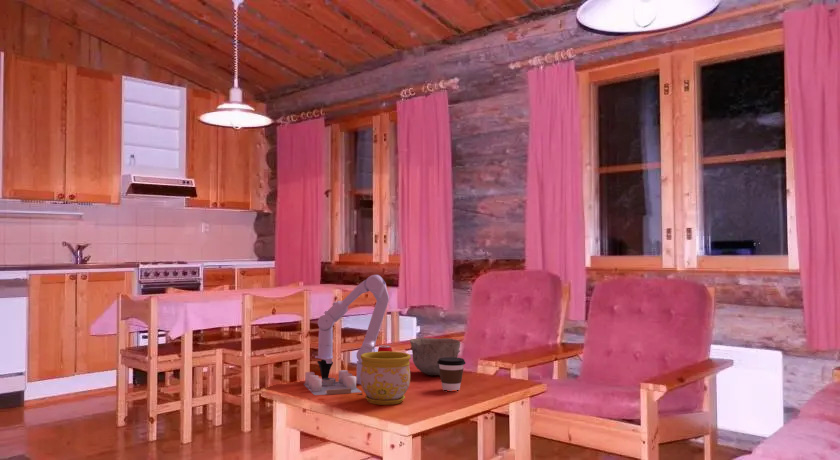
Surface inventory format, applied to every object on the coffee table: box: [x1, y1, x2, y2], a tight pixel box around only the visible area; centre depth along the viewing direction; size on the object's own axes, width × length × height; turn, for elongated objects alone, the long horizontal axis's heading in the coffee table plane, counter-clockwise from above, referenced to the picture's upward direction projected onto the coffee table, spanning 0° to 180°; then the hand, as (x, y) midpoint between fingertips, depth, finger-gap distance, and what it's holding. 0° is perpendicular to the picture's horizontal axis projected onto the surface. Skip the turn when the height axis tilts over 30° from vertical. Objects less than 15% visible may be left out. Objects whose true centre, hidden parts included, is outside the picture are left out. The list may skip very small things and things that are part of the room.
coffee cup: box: [437, 356, 466, 391], centre depth 257 cm, size 11×11×12 cm
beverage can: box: [377, 344, 393, 352], centre depth 291 cm, size 6×6×12 cm
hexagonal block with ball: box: [322, 377, 337, 387], centre depth 259 cm, size 5×5×3 cm
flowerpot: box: [360, 351, 412, 406], centre depth 237 cm, size 18×18×16 cm
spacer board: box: [303, 369, 363, 396], centre depth 254 cm, size 18×23×6 cm
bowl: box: [409, 337, 461, 376], centre depth 289 cm, size 22×22×15 cm
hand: (324, 378), depth 265 cm, fingers closed
